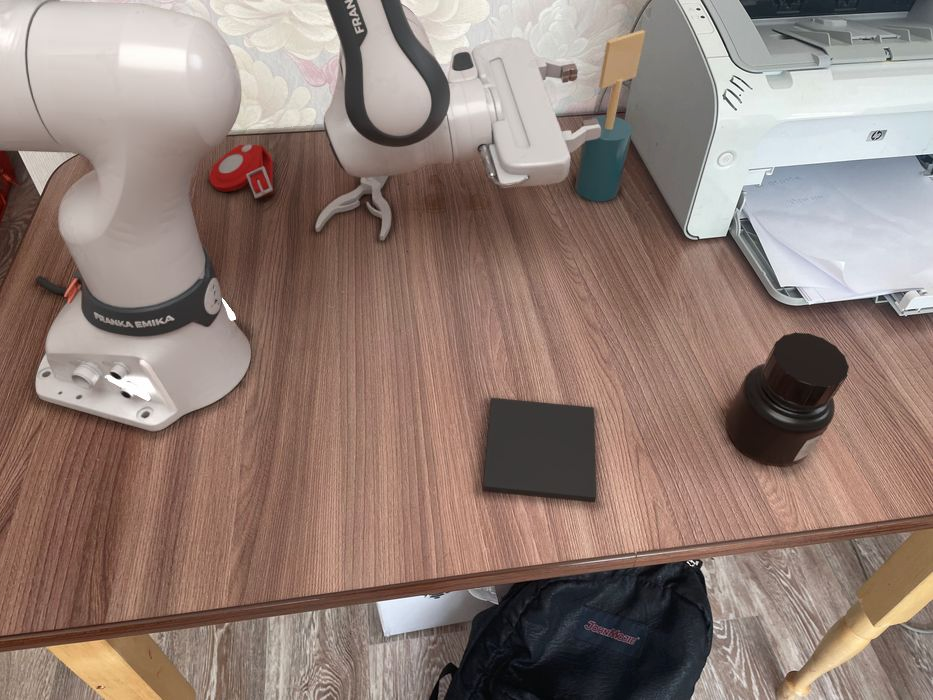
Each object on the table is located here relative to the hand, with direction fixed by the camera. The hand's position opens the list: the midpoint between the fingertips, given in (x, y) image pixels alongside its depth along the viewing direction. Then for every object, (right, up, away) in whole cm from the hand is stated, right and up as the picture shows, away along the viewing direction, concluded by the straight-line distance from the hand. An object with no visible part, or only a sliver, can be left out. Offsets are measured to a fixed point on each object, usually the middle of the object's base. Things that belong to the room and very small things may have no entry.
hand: (587, 98), depth 82 cm
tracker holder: (-46, -5, +21) cm, 51 cm away
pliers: (-28, -8, +18) cm, 35 cm away
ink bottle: (+18, -38, -6) cm, 43 cm away
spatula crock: (+5, -5, +22) cm, 23 cm away
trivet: (-6, -39, -9) cm, 41 cm away
